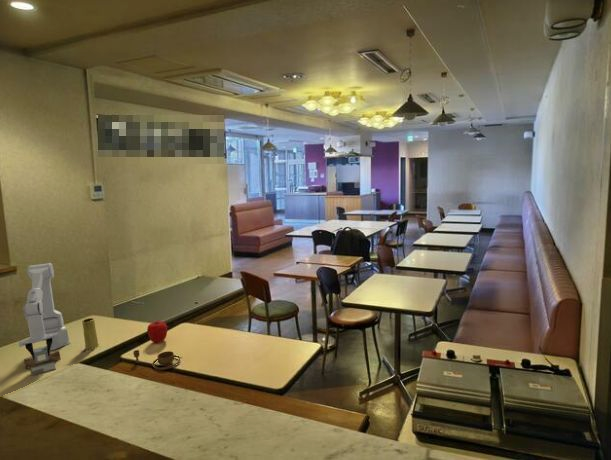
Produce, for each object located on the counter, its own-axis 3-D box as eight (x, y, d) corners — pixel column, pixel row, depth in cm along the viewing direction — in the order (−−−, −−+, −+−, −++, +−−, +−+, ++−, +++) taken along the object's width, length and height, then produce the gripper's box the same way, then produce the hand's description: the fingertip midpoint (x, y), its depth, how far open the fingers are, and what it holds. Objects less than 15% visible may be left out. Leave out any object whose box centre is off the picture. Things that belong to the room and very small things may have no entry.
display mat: (54, 361, 196) (54, 360, 196) (55, 369, 188) (55, 368, 188) (31, 367, 191) (31, 366, 191) (32, 375, 184) (31, 374, 183)
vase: (85, 350, 206) (81, 323, 204) (85, 346, 211) (81, 319, 209) (99, 347, 209) (95, 320, 206) (98, 343, 214) (94, 316, 212)
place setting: (155, 377, 178) (154, 364, 177) (132, 364, 191) (130, 352, 190) (190, 360, 191) (189, 348, 190) (166, 349, 204) (165, 338, 203)
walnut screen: (60, 358, 199) (59, 350, 199) (60, 359, 198) (59, 351, 198) (25, 367, 192) (23, 359, 191) (25, 368, 191) (23, 360, 190)
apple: (164, 345, 207) (162, 324, 205) (145, 346, 207) (142, 325, 205) (171, 337, 217) (169, 317, 215) (153, 337, 217) (150, 318, 215)
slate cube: (48, 356, 192) (46, 345, 192) (48, 360, 188) (46, 349, 187) (35, 359, 190) (33, 349, 189) (35, 363, 186) (33, 353, 185)
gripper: (16, 335, 179) (22, 365, 182) (55, 326, 187) (60, 355, 189) (17, 330, 185) (22, 359, 187) (55, 322, 193) (59, 349, 195)
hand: (41, 356), depth 189 cm, fingers closed on slate cube, 5 cm apart
